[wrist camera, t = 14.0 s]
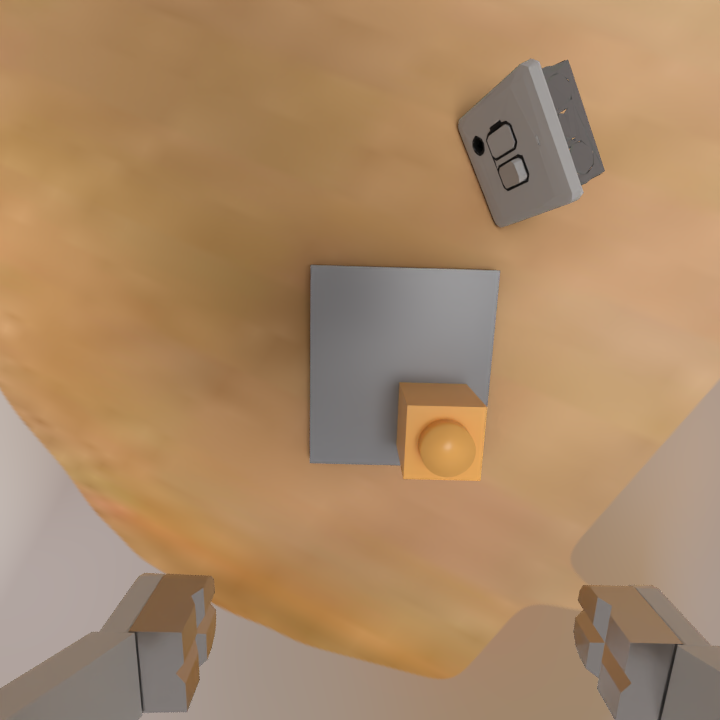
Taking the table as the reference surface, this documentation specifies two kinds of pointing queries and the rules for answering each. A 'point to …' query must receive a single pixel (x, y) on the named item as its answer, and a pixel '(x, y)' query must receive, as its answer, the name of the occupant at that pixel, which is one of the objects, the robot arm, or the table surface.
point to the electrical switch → (531, 142)
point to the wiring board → (390, 350)
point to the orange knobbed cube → (440, 431)
